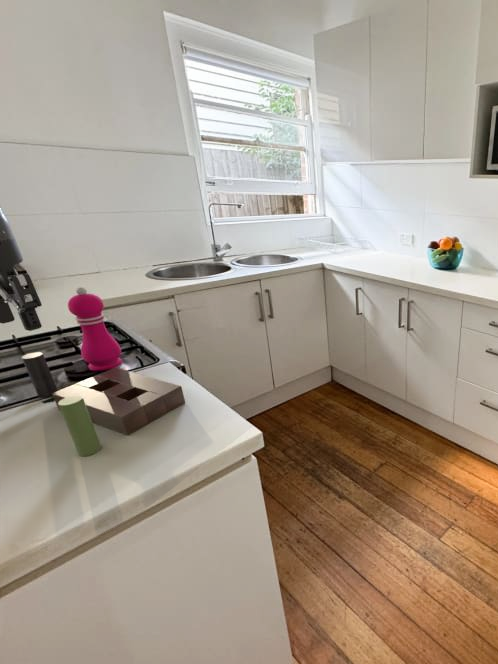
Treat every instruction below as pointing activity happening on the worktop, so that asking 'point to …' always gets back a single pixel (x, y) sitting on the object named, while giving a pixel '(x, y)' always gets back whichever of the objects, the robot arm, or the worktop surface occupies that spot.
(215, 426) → the worktop surface
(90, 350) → the pepper mill
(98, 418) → the peg block
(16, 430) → the worktop surface
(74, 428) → the green peg
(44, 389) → the charcoal peg
